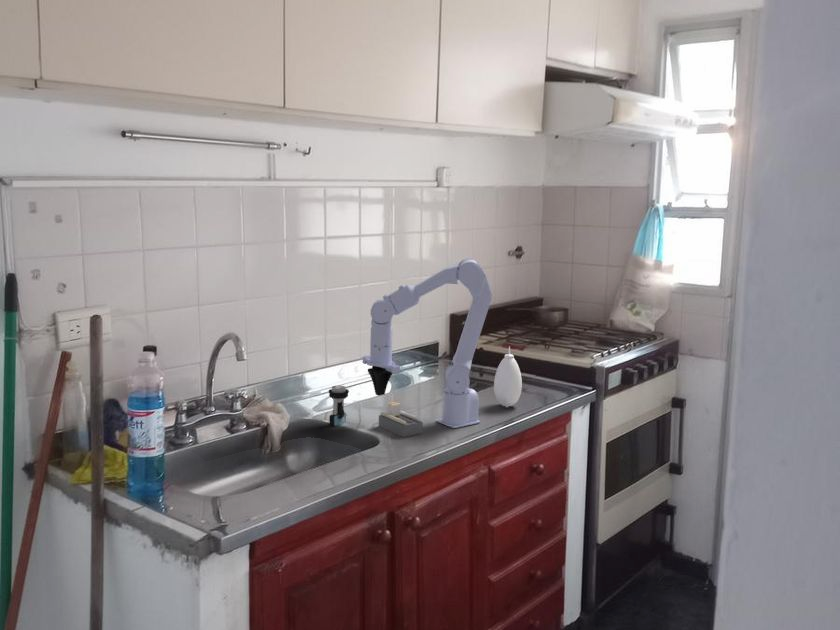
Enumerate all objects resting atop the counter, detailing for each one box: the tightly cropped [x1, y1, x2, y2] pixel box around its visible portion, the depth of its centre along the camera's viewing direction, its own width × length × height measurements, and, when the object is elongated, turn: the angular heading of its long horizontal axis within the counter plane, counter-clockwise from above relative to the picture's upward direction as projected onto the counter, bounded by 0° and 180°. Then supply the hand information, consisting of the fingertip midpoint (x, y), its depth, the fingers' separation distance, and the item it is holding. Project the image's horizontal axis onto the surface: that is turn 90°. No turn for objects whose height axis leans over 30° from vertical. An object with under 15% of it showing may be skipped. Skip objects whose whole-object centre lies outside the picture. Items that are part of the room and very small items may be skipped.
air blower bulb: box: [493, 345, 523, 407], centre depth 235 cm, size 8×8×18 cm
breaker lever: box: [386, 401, 401, 416], centre depth 214 cm, size 2×2×3 cm
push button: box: [328, 385, 350, 427], centre depth 216 cm, size 7×5×10 cm
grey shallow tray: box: [378, 409, 424, 438], centre depth 212 cm, size 6×11×4 cm, turn 38°
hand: (380, 394), depth 218 cm, fingers closed
